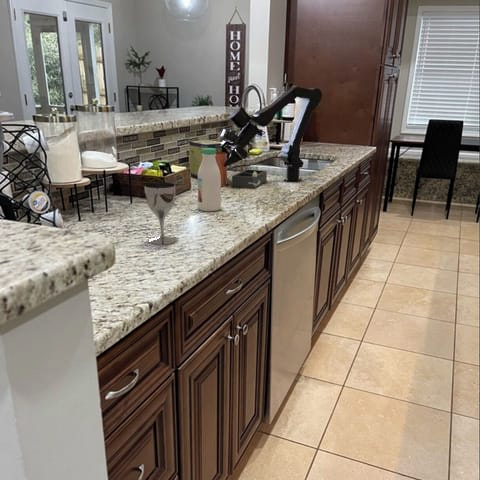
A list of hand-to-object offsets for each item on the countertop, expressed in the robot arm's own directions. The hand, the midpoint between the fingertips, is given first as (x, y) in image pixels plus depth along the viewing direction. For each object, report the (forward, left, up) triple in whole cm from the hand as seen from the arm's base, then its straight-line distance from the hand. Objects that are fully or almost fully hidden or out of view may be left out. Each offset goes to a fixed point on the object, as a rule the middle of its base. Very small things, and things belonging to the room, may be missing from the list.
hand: (220, 164), depth 209 cm
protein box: (-14, -12, -8) cm, 20 cm away
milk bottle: (+42, +13, -8) cm, 45 cm away
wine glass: (+81, +16, -8) cm, 84 cm away
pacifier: (-1, +14, -5) cm, 15 cm away
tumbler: (0, -1, -8) cm, 8 cm away
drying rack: (-7, +11, -8) cm, 15 cm away
